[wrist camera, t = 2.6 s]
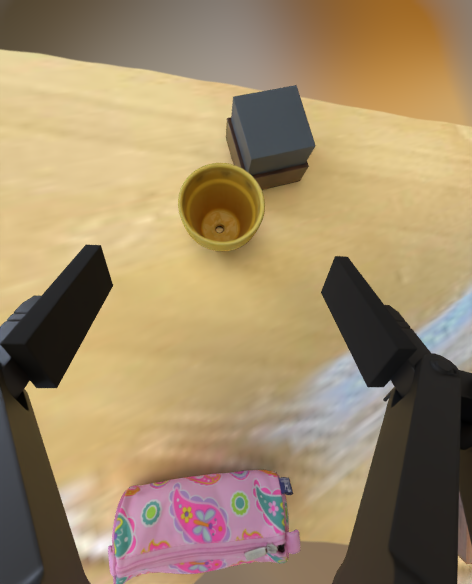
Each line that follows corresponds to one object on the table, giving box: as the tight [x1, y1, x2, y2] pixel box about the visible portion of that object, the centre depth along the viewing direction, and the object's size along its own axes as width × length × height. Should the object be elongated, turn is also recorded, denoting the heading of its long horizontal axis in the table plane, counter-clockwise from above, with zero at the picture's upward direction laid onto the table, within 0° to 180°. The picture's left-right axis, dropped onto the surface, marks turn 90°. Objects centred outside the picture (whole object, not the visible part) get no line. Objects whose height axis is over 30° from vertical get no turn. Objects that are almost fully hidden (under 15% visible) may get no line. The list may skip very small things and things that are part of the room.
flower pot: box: [178, 163, 265, 251], centre depth 34 cm, size 10×10×10 cm
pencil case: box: [108, 470, 300, 584], centre depth 30 cm, size 21×9×9 cm, turn 91°
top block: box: [231, 85, 315, 176], centre depth 34 cm, size 9×9×4 cm
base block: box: [226, 118, 309, 190], centre depth 38 cm, size 10×10×4 cm
